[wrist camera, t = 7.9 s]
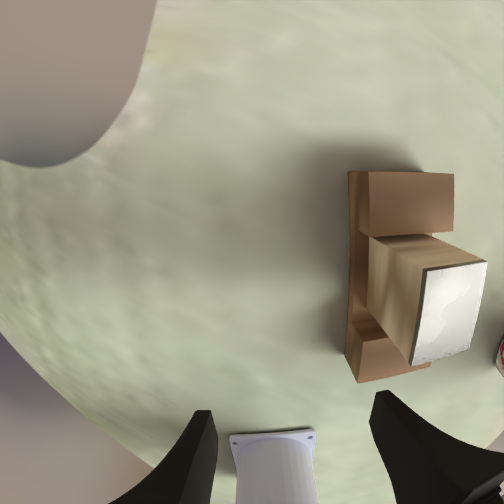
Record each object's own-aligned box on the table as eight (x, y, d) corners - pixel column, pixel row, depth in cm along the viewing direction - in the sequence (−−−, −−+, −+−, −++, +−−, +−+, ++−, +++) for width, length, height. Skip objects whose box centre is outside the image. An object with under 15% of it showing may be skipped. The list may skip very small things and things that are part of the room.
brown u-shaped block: (410, 343, 21) (429, 366, 17) (344, 355, 21) (357, 383, 18) (424, 172, 17) (453, 174, 14) (347, 171, 17) (368, 171, 14)
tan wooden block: (414, 299, 19) (468, 349, 12) (366, 307, 19) (411, 366, 12) (420, 231, 17) (487, 261, 11) (368, 235, 17) (427, 271, 11)
